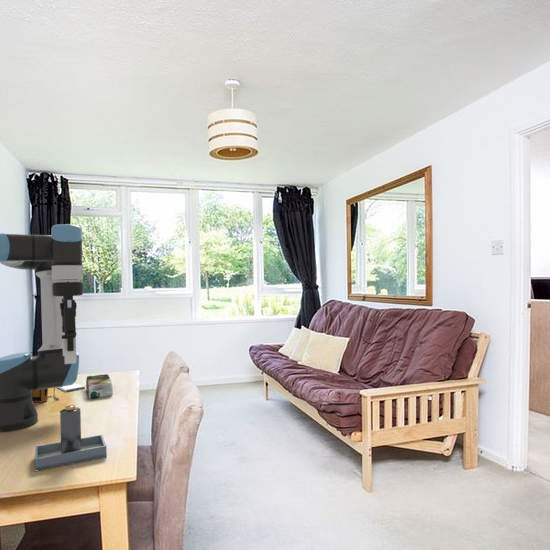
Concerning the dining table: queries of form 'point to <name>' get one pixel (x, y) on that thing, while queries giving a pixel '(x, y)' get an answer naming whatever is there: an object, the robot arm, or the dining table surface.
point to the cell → (70, 429)
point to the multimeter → (41, 394)
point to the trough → (69, 453)
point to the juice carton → (99, 386)
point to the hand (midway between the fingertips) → (69, 359)
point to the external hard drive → (71, 387)
